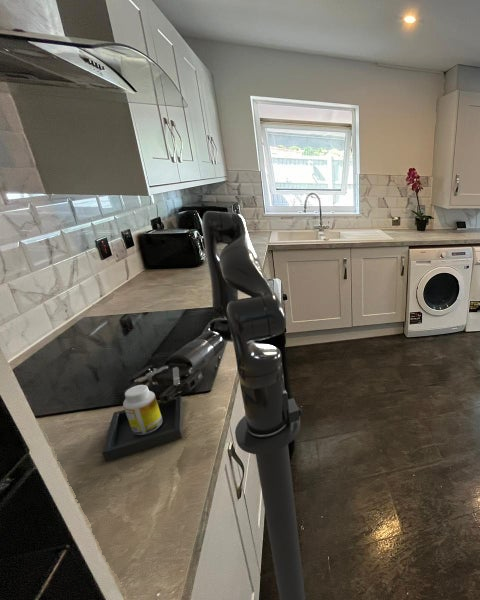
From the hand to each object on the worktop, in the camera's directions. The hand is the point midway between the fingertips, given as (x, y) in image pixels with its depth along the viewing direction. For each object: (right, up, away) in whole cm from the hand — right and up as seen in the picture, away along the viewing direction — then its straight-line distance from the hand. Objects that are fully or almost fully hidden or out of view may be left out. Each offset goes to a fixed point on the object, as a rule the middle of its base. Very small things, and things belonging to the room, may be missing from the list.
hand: (143, 398), depth 71 cm
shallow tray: (0, -8, +2) cm, 8 cm away
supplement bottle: (0, -7, +2) cm, 8 cm away
